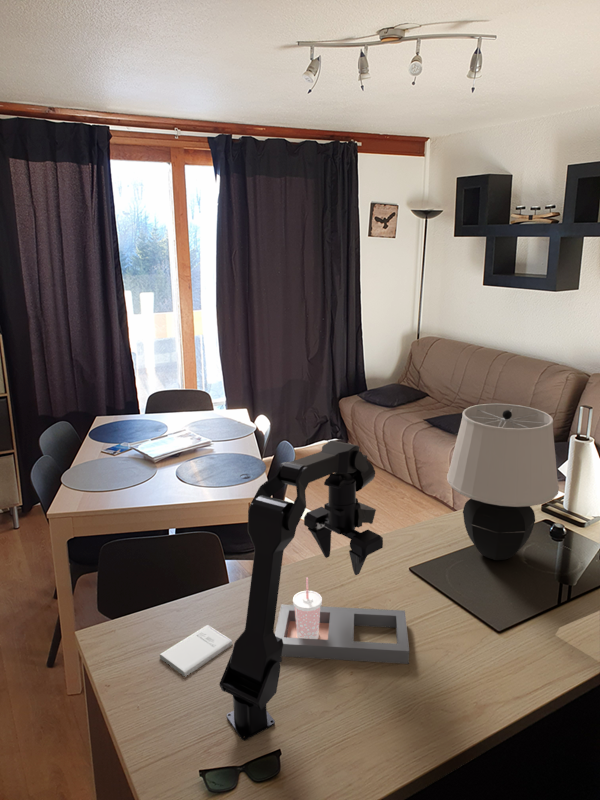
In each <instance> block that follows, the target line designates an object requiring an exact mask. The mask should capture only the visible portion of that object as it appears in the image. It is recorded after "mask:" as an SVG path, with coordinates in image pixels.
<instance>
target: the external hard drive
mask: <svg viewBox="0 0 600 800" xmlns="http://www.w3.org/2000/svg"><path fill="white" fill-rule="evenodd" d="M232 645H233V640H232V639H231V638H229V637H228V636H226V635H224V634H223V633H221V632H220V631H218V630H217V629H215V628H213V627H212V626H211V625H209V624H207V625H204V626H203V627H202V628H199V629H198V630H197V631H195V632H193V633H192V634H190V635H189V636H187V637H184V638H183V639H182V640H181V641H179V642H177V643H175V644H174V645H171V647H169V648H168V649H166V650H165V651H163V652H161V653H159V659H160V660H161V661H163V662H164V663H165V662H166V663H165V664H167V665H168V664H169V665H170V666H169V665H168V666H169V667H171V668H172V669H173V668H174V669H173V670H174V671H176V670H177V671H178V672H177V671H176V672H177V673H179V674H180V673H181V674H182V675H181V674H180V675H181V676H183V677H184V676H185V677H184V678H186V677H187V675H188V676H189V675H191V674H192V673H194V672H195V671H196V670H198V669H199V668H201V667H202V666H204V665H205V664H206V663H208V662H209V661H212V659H214V658H215V657H216V656H218V655H219V654H221V653H222V652H224V651H225V650H227V649H228V648H230V647H232ZM190 673H191V674H190Z"/></svg>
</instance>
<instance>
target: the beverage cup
mask: <svg viewBox="0 0 600 800" xmlns="http://www.w3.org/2000/svg"><path fill="white" fill-rule="evenodd" d="M322 602H323V597H322V596H321V594H320V593H319V592H317V591H314V590H309V577H307V576H306V577H305V590H303V591H299V592H297V593H295V594H294V595H293V598H292V605H294V607H295V618H296V629H297V637H298V638H305V639H318V637H319V621H320V606H322V604H323V603H322Z"/></svg>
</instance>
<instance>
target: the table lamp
mask: <svg viewBox="0 0 600 800" xmlns="http://www.w3.org/2000/svg"><path fill="white" fill-rule="evenodd" d="M555 449H556V447H555V437H554V419H553V416H552V415H550V414H548V413H547V412H545V411H542V410H540V409H537V408H533V407H530V406H525V405H519V404H509V403H484V404H483V403H482V404H476V405H473V406H472V405H471V406H469V407H467V408H465V409H464V410H463V411H462V418H461V421H460V425H459V429H458V433H457V436H456V440H455V445H454V448H453V453H452V456H451V460H450V461H451V462H450V464H449V469H448V472H447V474H446V479H447V483H448V484H449V486H450V487H451V489H453V490H454V491H456V492H457V493H458V494H459V495H462V496H464V497H466V498H469V499H467V501H465V503H464V506H463V509H462V517H463V523H464V527H465V530H466V532H467V533H466V534H467V535H468V537H469V539H470V541H471V542H472V544H473V545H474V546H475V548H476V550H477V551H478V552H479V553H480V554H481V555H482V556H483V557H485V558H488V559H489V560H490V559H491V560H493V561H505V560H506V561H507V559H511V558H512V557H513V556H515V555H516V554H517V553H518V552H519V551H520V550H521V549H522V548H523V546H525V544H526V543H527V541H528V540H529V538H530V537H531V534H532V532H533V530H534V526H535V523H536V515H535V511H534V509H533V508H532V507H533V506H538V505H544V504H546V503H549V502H550V501H552V500H554V498H556V497H557V496H558V494H559V490H560V486H559V482H558V481H559V480H558V472H557V460H556V458H557V457H556V450H555Z"/></svg>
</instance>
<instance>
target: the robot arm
mask: <svg viewBox="0 0 600 800" xmlns="http://www.w3.org/2000/svg"><path fill="white" fill-rule="evenodd" d="M360 448H361V447H360V446H359V444H353V443H352V444H351V443H346V442H341V441H336V440H330V441H328V442H327V443H325V444H323V445H322V446H321V451H319V452H316V453H313V454H310V455H307V456H304V457H301V458H298V459H295V460H292V461H286V462H285V461H284V462H281V463H280V465H279V467H278V468H277V471H276V472H275V474H274V475H273V476H272V477H270V478H269V479H268V480H266V481H265V482H264V483H262V484H261V485H260V486H259V487H258V489H257V491H256V494H255V495H254V497H253V498H252V500H251V502H250V504H249V507H248V510H247V533H248V535H249V537H250V540H251V542H252V546H253V547H254V554H253V561H252V567H251V568H252V569H251V570H252V571H251V579H250V586H249V594H248V602H247V611H246V618H245V626H244V630H243V632H242V633H241V634H240V636H238V638H237V639H236V640H235V641H234V643H233V648H232V651H231V654H230V658H229V659H228V662H227V665H226V666H225V668H224V669H225V670H224V671H223V674H222V677H221V679H220V682H219V684H218V685H219V687H220V689H221V692H226V693H228V694H230V695H231V696H232V701H233V702H232V707H233V710H232V711H230V712H228V713H227V714H226V719H227V721H228V722H229V724H230V725H231V726H232V728H233V729H234V731H235V733H237V736H239V738H240V739H241V741H246V740H249V739H250V738H252V737H254V736H256V735H258V734H260V733H262V732H263V731H266V730H267V729H270V728H271V727H274V726H275V724H276V721H275V719H274V718H273V717H272V715H271V714H270V713H269V711H268V710H267V708H268V707H267V704H268V703H269V702H270V701H271V699H273V697H274V696H275V695H276V693H277V691H278V684H279V678H280V673H281V663H283V660H282V656H281V655H282V649H283V640H282V639H281V638H278V637H276V636H275V629H274V628H275V620H276V614H277V613H276V612H277V604H278V599H279V598H278V597H279V589H280V580H281V574H282V573H281V571H282V565H283V556H284V550H285V549H286V548H287V547H288V546H289V544H290V543H291V542H292V541H293V539H294V538H295V535H296V530H297V527H298V525H299V524H300V521H301V519H302V518H303V520H304V521H303V525H304V526H305V527H306V528H307V530H308V531H309V532H310V533H311V535H312V537H313V538H314V540H315V541H316V544H317V545H318V546H319V549H320V551H321V552H322V554H323V556H324V558H326V559H327V558H329V557H330V555H331V543H332V532H334V533H335V534H337V535H341V536H344V537H346V538H348V539H350V541H349V547H350V550H349V551H348V553H349V556H350V562H351V566H352V570H353V575H355V576H358V575H359V574H360V573H361V570H362V568H363V566H364V563H365V561H366V559H367V557H368V556H369V555H371V554H373V553H375V552H377V551H379V550H382V549H383V548H384V547H383V546H384V539H383V537H382V536H381V535H380V534H378V533H376V532H374V531H372V530H370V529H366V530H364V531H362V532H360V531H358V530H356V528H358V529H359V528H360V527H361V528H362V526H363V524H370V525H372V524H373V523H374V519H375V515H376V511H377V509H376V508H373V507H371V506H369V505H367V504H365V503H361V502H359V499H358V498H357V493H356V492H360V491H361V490H362V489H364V487H366V486H367V485H368V484H370V483H371V482H372V481H373V480H374V479H375V477H376V470H375V467H374V465H373V464H372V462H370V461H369V460H368V455H365V454H363V452H362V451H360ZM327 476H328V477H327ZM324 477H327V478H326V479H325V481H324V483H323V485H324V486H326V487H328V502H327V503H324V506H320V507H318V508H315V509H313V510H311V511H307V512H306V514H305V515H304V513H305V510H306V509H307V498H306V489H307V487H308V485H309V484H310V483H313V482H315V481H317V480H319V479H322V478H324ZM285 485H288V486H293V487H295V488H296V497H295V500H294V501H293V502H291V501H286V500H284V499H283V500H282V499H279V498H275V497H273V496H274V495H275V494H276V493H277V492H279V491H280V490H282V489H283V488H284V487H285ZM303 515H304V517H303Z"/></svg>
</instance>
